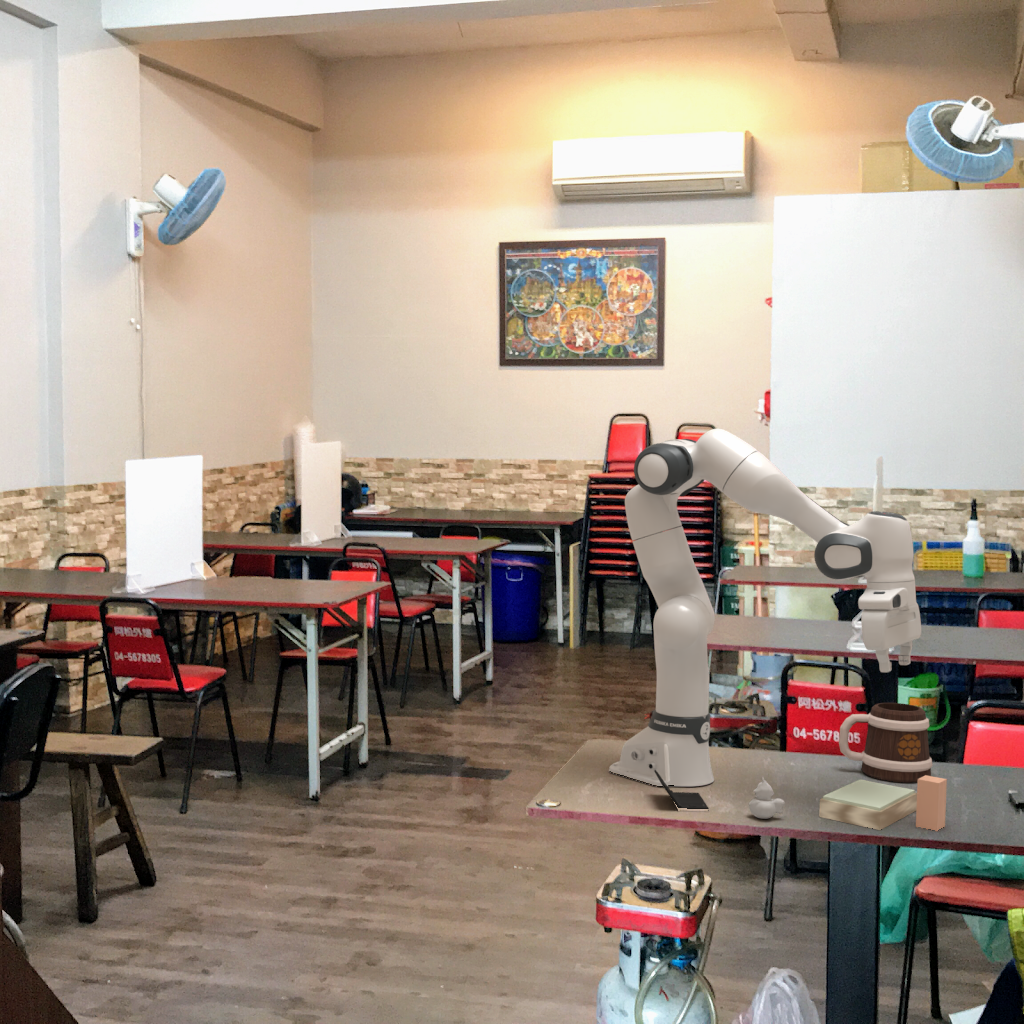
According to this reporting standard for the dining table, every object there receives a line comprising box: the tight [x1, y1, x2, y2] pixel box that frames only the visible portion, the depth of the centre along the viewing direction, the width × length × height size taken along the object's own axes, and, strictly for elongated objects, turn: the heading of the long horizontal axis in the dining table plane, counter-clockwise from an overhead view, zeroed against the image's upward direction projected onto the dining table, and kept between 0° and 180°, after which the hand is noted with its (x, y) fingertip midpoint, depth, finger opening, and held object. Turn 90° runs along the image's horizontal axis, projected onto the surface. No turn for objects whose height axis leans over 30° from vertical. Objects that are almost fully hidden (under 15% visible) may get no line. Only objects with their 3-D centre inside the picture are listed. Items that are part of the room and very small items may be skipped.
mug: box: [838, 702, 934, 784], centre depth 261 cm, size 20×15×15 cm
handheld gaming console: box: [654, 770, 709, 809], centre depth 234 cm, size 12×7×10 cm
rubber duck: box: [748, 775, 786, 820], centre depth 226 cm, size 5×7×8 cm
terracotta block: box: [915, 775, 948, 832], centre depth 223 cm, size 4×4×9 cm
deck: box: [818, 778, 917, 831], centre depth 231 cm, size 12×18×4 cm, turn 140°
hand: (895, 668), depth 228 cm, fingers open, 8 cm apart
